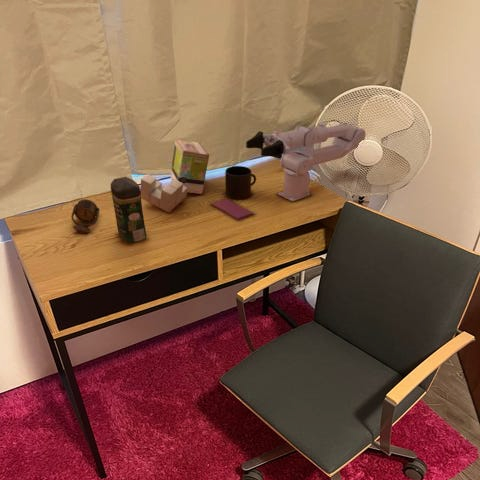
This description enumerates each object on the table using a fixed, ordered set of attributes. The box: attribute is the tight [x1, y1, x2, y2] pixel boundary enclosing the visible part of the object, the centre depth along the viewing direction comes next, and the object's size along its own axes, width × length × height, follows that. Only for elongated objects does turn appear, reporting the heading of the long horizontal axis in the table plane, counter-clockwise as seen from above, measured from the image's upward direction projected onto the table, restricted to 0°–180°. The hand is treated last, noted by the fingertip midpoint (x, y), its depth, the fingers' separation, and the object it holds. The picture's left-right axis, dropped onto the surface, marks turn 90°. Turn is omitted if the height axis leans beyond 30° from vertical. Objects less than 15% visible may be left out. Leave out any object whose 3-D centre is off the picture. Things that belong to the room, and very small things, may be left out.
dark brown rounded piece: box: [71, 198, 101, 234], centre depth 155 cm, size 7×13×10 cm
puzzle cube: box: [140, 173, 188, 213], centre depth 166 cm, size 12×12×8 cm
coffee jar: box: [110, 176, 147, 244], centre depth 145 cm, size 10×8×19 cm
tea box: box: [169, 139, 210, 195], centre depth 175 cm, size 15×10×15 cm, turn 16°
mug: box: [224, 165, 257, 200], centre depth 175 cm, size 9×12×9 cm
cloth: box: [210, 198, 255, 221], centre depth 167 cm, size 7×15×1 cm, turn 40°
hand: (254, 148), depth 154 cm, fingers open, 7 cm apart
